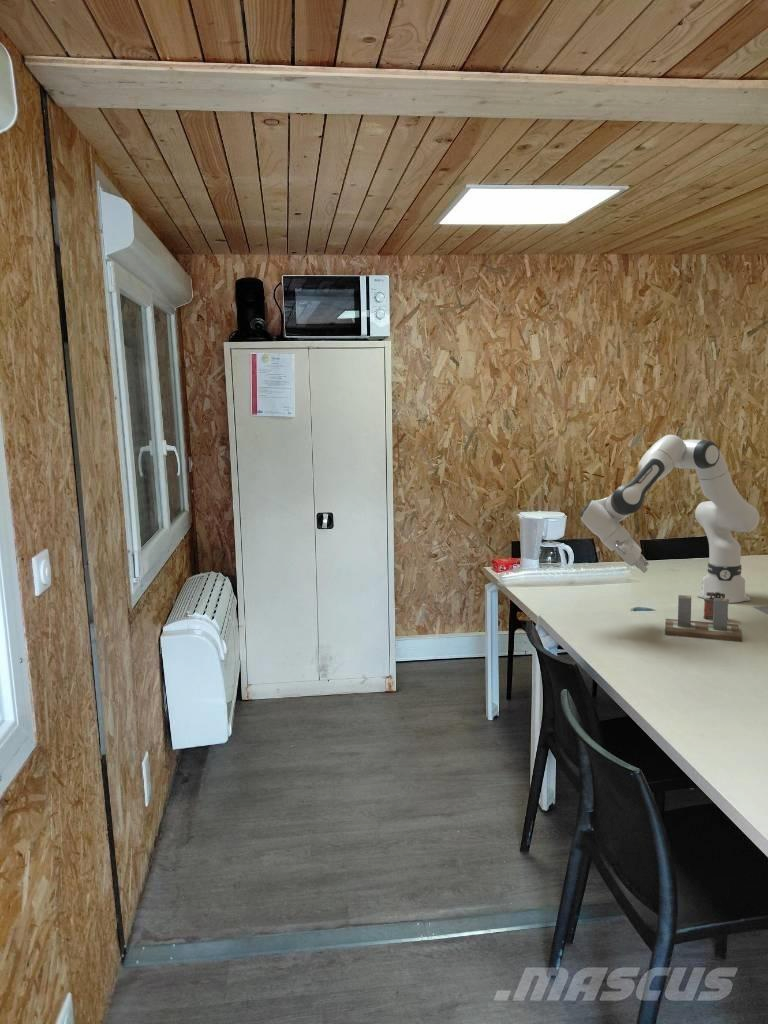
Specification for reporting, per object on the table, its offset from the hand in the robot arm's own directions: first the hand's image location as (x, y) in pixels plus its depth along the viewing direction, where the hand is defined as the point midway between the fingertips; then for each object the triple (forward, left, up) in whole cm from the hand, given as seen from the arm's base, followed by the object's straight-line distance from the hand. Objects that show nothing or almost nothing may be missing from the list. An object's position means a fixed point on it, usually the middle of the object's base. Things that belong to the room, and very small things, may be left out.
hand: (646, 568), depth 230 cm
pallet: (0, +18, -21) cm, 28 cm away
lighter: (-17, +23, -21) cm, 36 cm away
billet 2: (0, +23, -19) cm, 30 cm away
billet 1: (0, +12, -19) cm, 23 cm away
